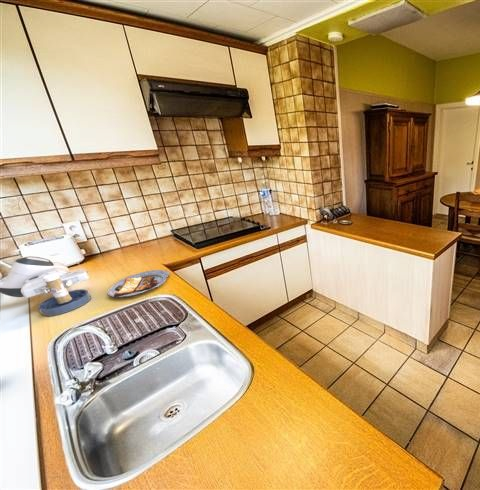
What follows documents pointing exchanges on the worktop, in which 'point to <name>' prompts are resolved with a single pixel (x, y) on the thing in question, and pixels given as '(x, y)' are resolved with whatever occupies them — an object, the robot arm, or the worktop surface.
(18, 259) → the robot arm
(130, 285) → the food plate
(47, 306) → the bowl
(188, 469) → the worktop surface
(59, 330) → the worktop surface
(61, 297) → the sprinkles bottle
